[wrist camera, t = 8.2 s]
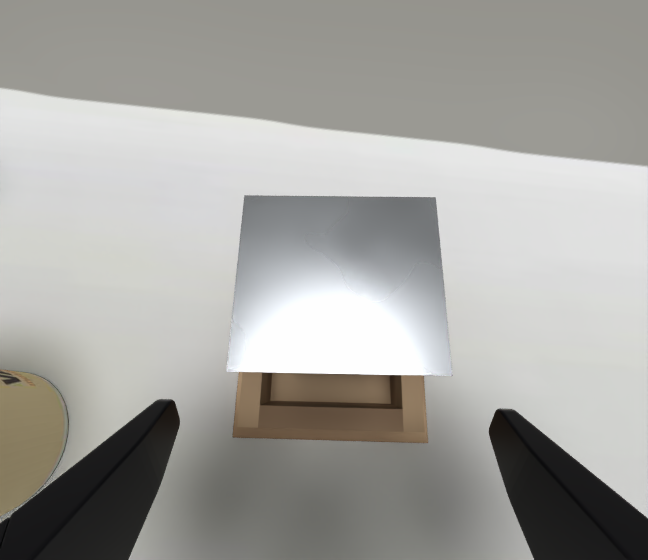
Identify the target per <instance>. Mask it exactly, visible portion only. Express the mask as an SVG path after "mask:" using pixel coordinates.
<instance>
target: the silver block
mask: <svg viewBox="0 0 648 560" xmlns="http://www.w3.org/2000/svg"><path fill="white" fill-rule="evenodd" d="M226 372H259V373H292V374H345V375H423V376H453V375H452V364H451V354H450V343H449V333H448V322H447V312H446V301H445V291H444V280H443V270H442V259H441V249H440V238H439V228H438V217H437V207H436V197H341V196H244V205H243V215H242V224H241V234H240V244H239V253H238V263H237V273H236V282H235V292H234V302H233V311H232V321H231V331H230V340H229V350H228V360H227V369H226Z"/></svg>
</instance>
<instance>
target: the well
mask: <svg viewBox="0 0 648 560" xmlns="http://www.w3.org/2000/svg"><path fill="white" fill-rule="evenodd" d="M232 437H237V438H271V439H306V440H340V441H374V442H408V443H428V435H427V420H426V404H425V388H424V376H423V375H345V374H292V373H259V372H239V376H238V386H237V396H236V406H235V416H234V426H233V436H232Z"/></svg>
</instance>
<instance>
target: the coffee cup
mask: <svg viewBox="0 0 648 560" xmlns="http://www.w3.org/2000/svg"><path fill="white" fill-rule="evenodd" d="M67 435H68V414H67V410H66V406H65V402H64V400H63V398H62V396H61V394H60V393H59V392H58V390H57V389H56V387H54V386H53V385H52V384H51V383H50V382H49V381H47V380H45V379H44V378H42V377H40V376H37V375H34V374H30V373H25V372H17V371H8V370H0V516H2V515H3V514H5V513H7V512H9V511H11V510H13V509H14V508H16V507H17V506H19V505H21V504H22V503H24V502H25V501H26V500H28V499H29V498H30V497H32V496H33V495H34V494H35V493H36V492H37V491H38V490H39V489H40V488H41V487H42V486H43V485H44V484H45V483H46V481H47V480H48V479H49V478H50V476H51V475H52V473H53V471H54V470H55V468H56V466H57V465H58V463H59V461H60V458H61V456H62V454H63V451H64V448H65V444H66V440H67Z"/></svg>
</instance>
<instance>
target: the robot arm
mask: <svg viewBox="0 0 648 560" xmlns="http://www.w3.org/2000/svg"><path fill="white" fill-rule="evenodd" d="M179 425H180V418H179V415H178V411H177V408H176V404H175V402H174V401H173V400H171V399H159V400H157V401H155V402H154V403H153V404H151V405H150V406H149V407H147V408H146V409H145V410H144V411H142V412H141V413H140V414H139V415H137V416H136V417H135V418H133V419H132V420H131V421H130V422H128V423H127V424H126V425H125V426H123V427H122V428H121V429H120V430H118V431H117V432H116V433H114V434H113V435H112V436H111V437H109V438H108V439H107V440H106V441H104V442H103V443H102V444H100V445H99V446H98V447H97V448H95V449H94V450H93V451H92V452H90V453H89V454H88V455H87V456H85V457H84V458H83V459H81V460H80V461H79V462H78V463H76V464H75V465H74V466H73V467H71V468H70V469H69V470H67V471H66V472H65V473H64V474H62V475H61V476H60V477H59V478H57V479H56V480H55V481H54V482H52V483H51V484H50V485H48V486H47V487H46V488H45V489H43V490H42V491H41V492H40V493H38V494H37V495H36V496H34V497H33V498H32V499H31V500H29V501H28V502H27V503H26V504H24V505H23V506H22V507H21V508H19V509H18V510H17V511H15V512H14V513H13V514H12V515H11V517H10V518H6V519H5V520H4V521H3V522H1V523H0V560H128V559H129V557H130V554H131V552H132V550H133V547H134V545H135V543H136V540H137V538H138V536H139V533H140V531H141V529H142V527H143V524H144V522H145V520H146V517H147V515H148V513H149V510H150V508H151V506H152V503H153V501H154V499H155V497H156V494H157V492H158V489H159V487H160V484H161V481H162V479H163V476H164V473H165V470H166V466H167V463H168V460H169V457H170V454H171V451H172V448H173V445H174V442H175V439H176V436H177V432H178V429H179ZM489 436H490V440H491V443H492V446H493V449H494V453H495V456H496V459H497V462H498V466H499V469H500V472H501V475H502V478H503V482H504V485H505V488H506V491H507V494H508V497H509V499H510V502H511V505H512V507H513V509H514V512H515V514H516V517H517V519H518V522H519V524H520V526H521V529H522V531H523V534H524V536H525V538H526V541H527V543H528V546H529V548H530V550H531V553H532V555H533V558H534V560H648V518H647V517H646V516H644V515H643V514H642V513H641V512H639V511H638V510H637V509H636V508H634V507H633V506H632V505H631V504H630V503H628V502H627V501H626V500H625V499H623V498H622V497H621V496H620V495H618V494H617V493H616V492H615V491H614V490H612V489H611V488H610V487H609V486H607V485H606V484H605V483H604V482H602V481H601V480H600V479H599V478H598V477H596V476H595V475H594V474H593V473H591V472H590V471H589V470H588V469H586V468H585V467H584V466H583V465H582V464H580V463H579V462H578V461H577V460H575V459H574V458H573V457H572V456H570V455H569V454H568V453H567V452H566V451H564V450H563V449H562V448H561V447H559V446H558V445H557V444H556V443H555V442H553V441H552V440H551V439H550V438H548V437H547V436H546V435H545V434H543V433H542V432H541V431H540V430H539V429H537V428H536V427H535V426H534V425H532V424H531V423H530V422H529V421H527V420H526V419H525V418H524V417H523V416H521V415H520V414H519V413H518V412H516V411H515V410H513V409H497V410H496V412H495V414H494V417H493V419H492V422H491V425H490V427H489Z"/></svg>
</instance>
